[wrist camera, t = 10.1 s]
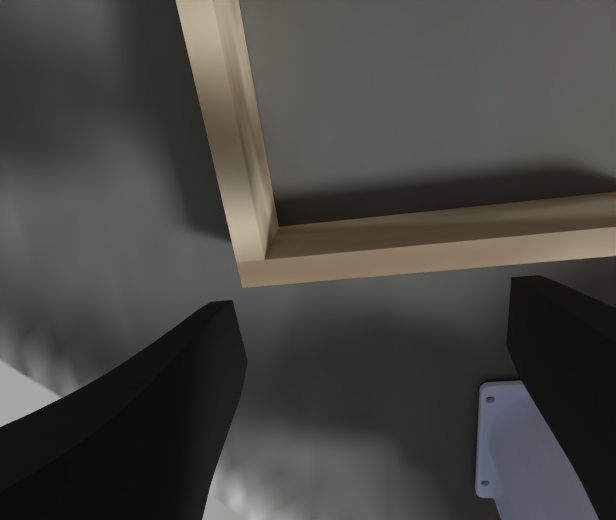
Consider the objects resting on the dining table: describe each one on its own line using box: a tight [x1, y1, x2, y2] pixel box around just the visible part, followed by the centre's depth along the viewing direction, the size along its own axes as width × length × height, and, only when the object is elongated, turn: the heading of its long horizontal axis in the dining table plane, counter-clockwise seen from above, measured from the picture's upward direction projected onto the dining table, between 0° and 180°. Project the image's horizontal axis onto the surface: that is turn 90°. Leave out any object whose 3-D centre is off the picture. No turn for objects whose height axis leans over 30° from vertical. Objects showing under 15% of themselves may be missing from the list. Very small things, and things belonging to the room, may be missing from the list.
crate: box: [176, 0, 616, 288], centre depth 15 cm, size 13×18×4 cm
